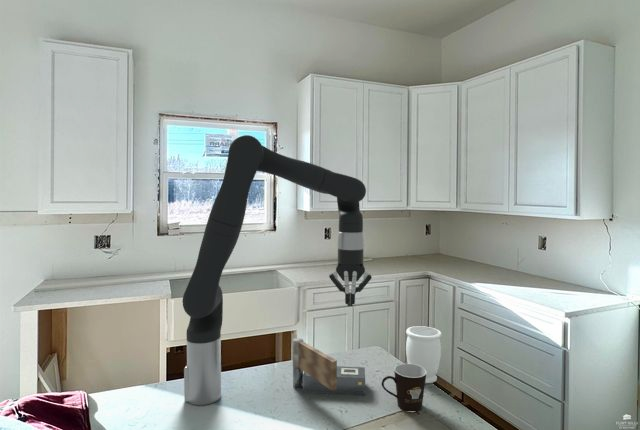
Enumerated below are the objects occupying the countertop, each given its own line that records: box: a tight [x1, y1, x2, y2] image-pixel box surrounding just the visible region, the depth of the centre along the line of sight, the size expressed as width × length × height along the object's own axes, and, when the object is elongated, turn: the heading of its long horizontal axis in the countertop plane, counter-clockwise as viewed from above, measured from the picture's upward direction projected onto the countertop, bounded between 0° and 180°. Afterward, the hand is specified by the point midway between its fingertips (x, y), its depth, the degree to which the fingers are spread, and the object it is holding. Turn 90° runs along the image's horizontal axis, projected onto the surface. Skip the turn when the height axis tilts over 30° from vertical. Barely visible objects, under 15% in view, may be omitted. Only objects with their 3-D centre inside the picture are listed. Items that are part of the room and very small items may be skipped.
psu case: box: [302, 365, 366, 396], centre depth 116 cm, size 18×7×5 cm, turn 85°
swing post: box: [292, 366, 304, 389], centre depth 118 cm, size 3×3×6 cm
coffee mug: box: [381, 362, 427, 413], centre depth 107 cm, size 12×9×10 cm
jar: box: [405, 325, 442, 384], centre depth 123 cm, size 11×10×15 cm
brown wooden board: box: [292, 338, 338, 391], centre depth 111 cm, size 20×3×8 cm, turn 35°
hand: (350, 305), depth 115 cm, fingers closed
